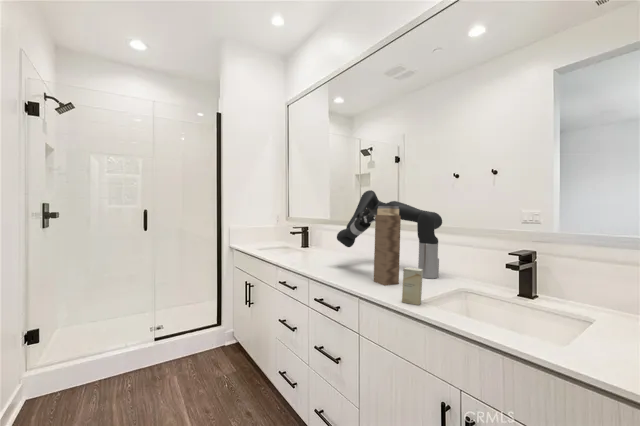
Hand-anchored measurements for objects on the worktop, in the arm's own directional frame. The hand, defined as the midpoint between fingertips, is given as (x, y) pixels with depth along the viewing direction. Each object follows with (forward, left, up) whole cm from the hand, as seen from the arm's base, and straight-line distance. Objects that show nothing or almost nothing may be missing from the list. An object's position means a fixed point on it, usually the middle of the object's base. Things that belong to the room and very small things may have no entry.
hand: (376, 210), depth 141 cm
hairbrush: (0, +4, -2) cm, 5 cm away
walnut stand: (0, +8, -33) cm, 34 cm away
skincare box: (+10, +35, -33) cm, 50 cm away
